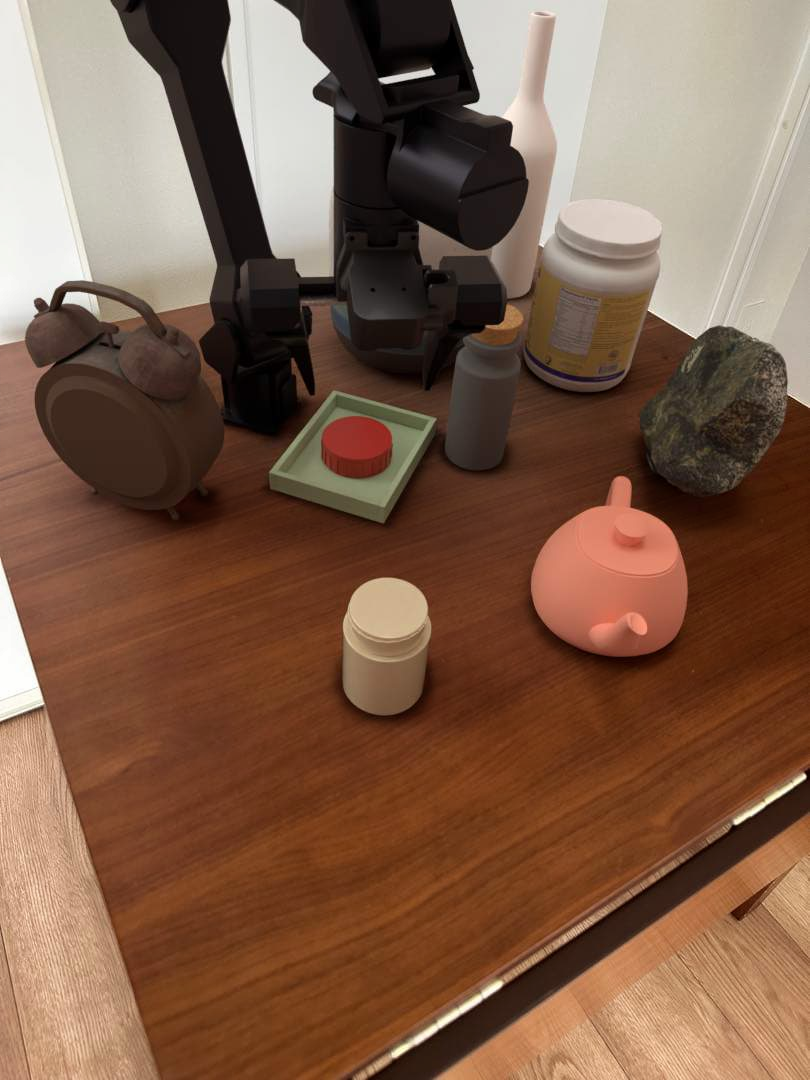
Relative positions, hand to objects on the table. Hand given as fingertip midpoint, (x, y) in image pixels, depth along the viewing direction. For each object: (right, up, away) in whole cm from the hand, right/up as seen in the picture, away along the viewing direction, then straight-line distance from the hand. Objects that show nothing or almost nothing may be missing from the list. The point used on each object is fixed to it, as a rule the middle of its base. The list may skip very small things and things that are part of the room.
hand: (369, 390), depth 62 cm
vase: (+3, +10, +27) cm, 29 cm away
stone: (+30, -6, +14) cm, 34 cm away
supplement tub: (+22, +8, +27) cm, 36 cm away
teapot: (+19, -18, +1) cm, 26 cm away
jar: (+1, -22, -5) cm, 23 cm away
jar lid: (-2, -3, +11) cm, 11 cm away
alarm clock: (-20, -8, +8) cm, 23 cm away
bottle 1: (+10, -3, +15) cm, 18 cm away
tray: (-2, -4, +12) cm, 13 cm away
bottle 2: (+15, +21, +40) cm, 48 cm away
